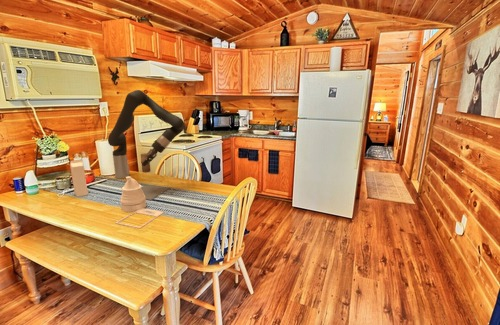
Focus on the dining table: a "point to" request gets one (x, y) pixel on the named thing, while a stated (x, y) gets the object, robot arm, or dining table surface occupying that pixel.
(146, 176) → the dining table surface
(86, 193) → the milk
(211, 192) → the dining table surface
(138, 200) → the honey pot
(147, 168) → the walnut peg
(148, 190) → the slate mat
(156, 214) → the photo frame
